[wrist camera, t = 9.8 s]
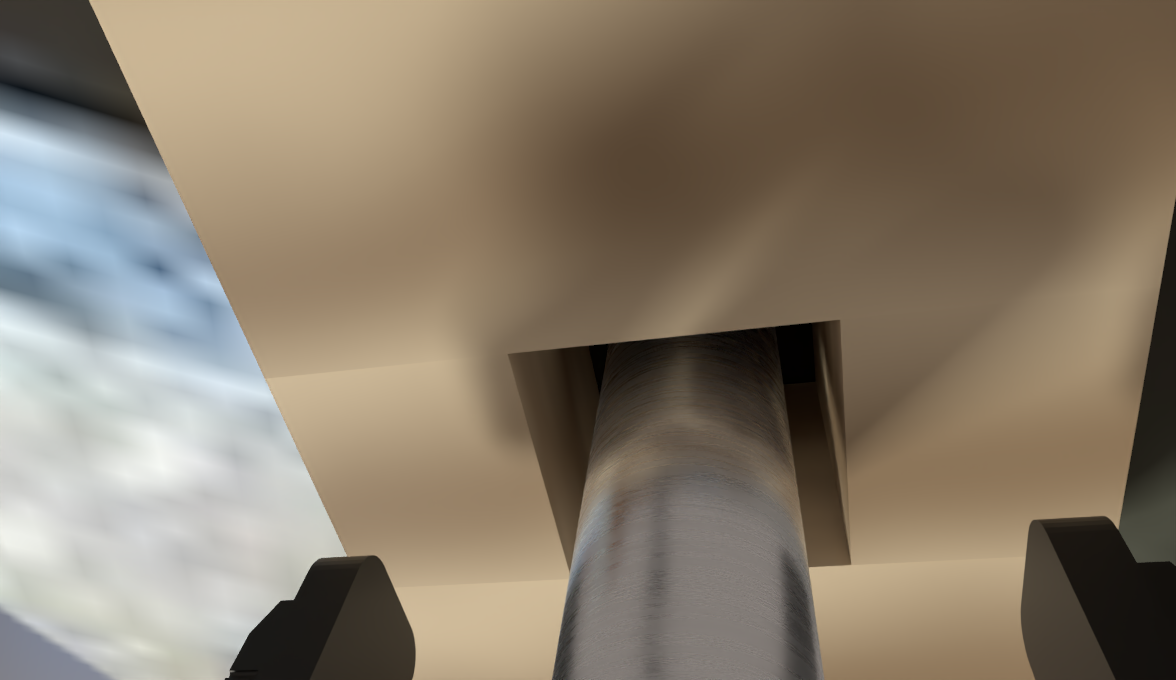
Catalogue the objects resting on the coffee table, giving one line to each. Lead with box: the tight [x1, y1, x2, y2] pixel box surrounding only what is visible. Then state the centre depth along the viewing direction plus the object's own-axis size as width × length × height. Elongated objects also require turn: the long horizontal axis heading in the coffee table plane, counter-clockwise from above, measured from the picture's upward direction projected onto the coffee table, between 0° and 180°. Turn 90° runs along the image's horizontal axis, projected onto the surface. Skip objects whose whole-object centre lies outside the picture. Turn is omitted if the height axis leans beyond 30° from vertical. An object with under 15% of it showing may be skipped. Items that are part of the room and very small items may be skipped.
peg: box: [552, 326, 824, 680], centre depth 13 cm, size 3×3×10 cm
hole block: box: [89, 0, 1176, 680], centre depth 15 cm, size 16×12×5 cm
